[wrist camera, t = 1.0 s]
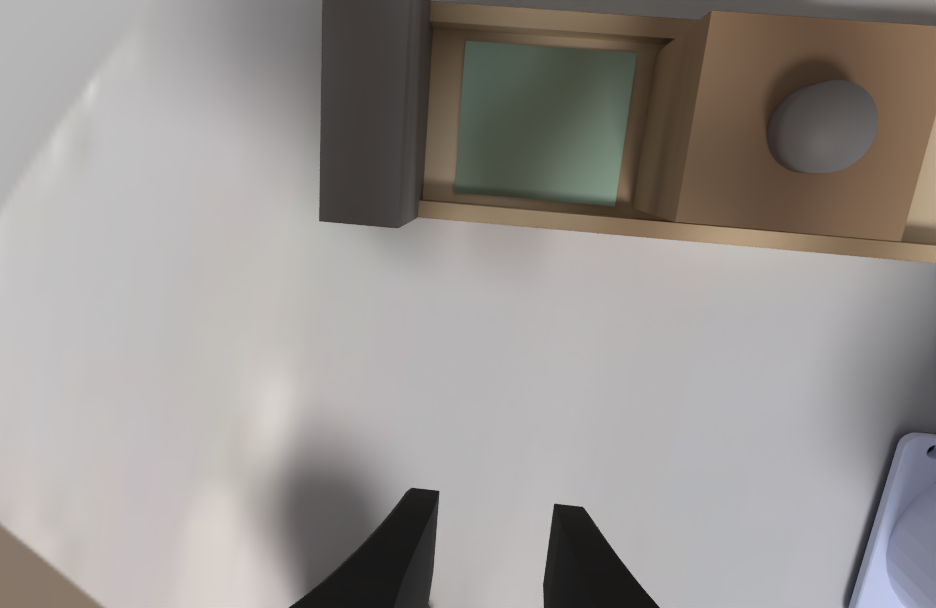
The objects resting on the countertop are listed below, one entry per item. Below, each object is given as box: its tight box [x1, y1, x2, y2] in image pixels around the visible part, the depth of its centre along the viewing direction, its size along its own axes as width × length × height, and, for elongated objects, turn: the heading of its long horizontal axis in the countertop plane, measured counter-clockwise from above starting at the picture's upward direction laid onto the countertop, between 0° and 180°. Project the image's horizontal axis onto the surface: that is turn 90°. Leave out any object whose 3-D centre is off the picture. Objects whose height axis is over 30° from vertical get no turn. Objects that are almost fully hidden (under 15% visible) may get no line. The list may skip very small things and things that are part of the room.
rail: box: [319, 0, 936, 263], centre depth 15 cm, size 18×6×5 cm, turn 85°
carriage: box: [633, 10, 936, 241], centre depth 14 cm, size 5×4×5 cm
